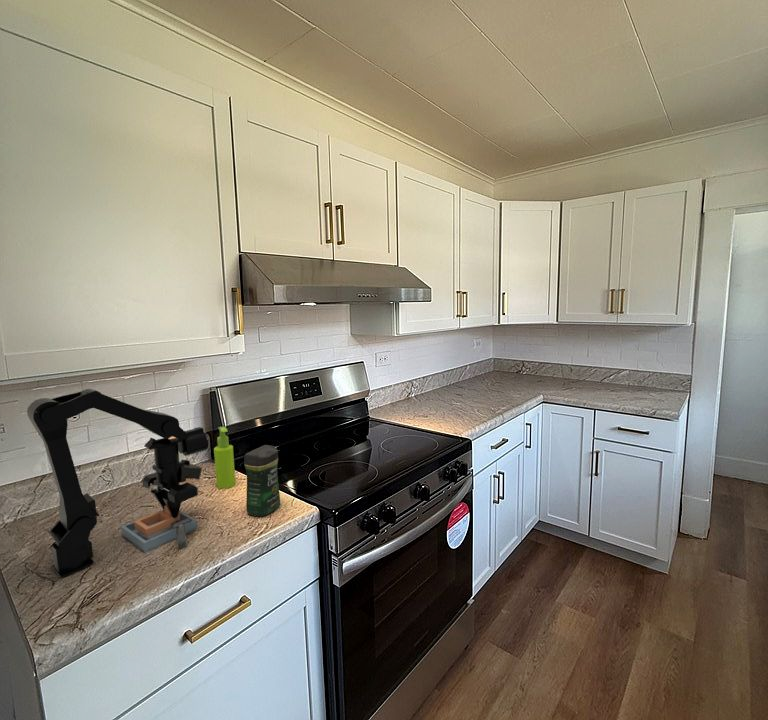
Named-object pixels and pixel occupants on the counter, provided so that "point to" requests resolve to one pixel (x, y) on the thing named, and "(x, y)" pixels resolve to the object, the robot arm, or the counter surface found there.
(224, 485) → the soap dispenser
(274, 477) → the coffee jar
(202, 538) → the counter surface
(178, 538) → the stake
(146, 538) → the tray
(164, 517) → the tan rectangular frame
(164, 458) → the robot arm
